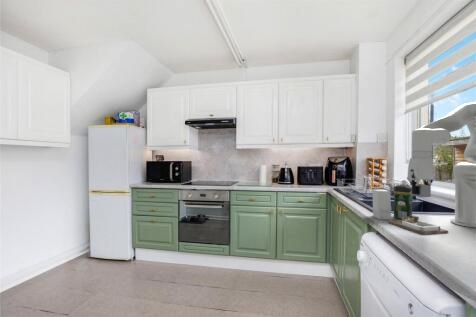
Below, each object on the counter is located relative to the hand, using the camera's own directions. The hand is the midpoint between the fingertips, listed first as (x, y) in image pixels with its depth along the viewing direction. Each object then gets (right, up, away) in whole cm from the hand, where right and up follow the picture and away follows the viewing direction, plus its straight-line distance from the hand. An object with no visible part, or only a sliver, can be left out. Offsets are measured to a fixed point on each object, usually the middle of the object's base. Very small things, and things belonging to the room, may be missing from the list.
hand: (420, 193), depth 107 cm
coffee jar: (+6, -17, +21) cm, 28 cm away
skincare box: (-6, -17, +21) cm, 27 cm away
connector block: (0, -1, 0) cm, 1 cm away
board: (0, -17, +3) cm, 17 cm away
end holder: (0, -17, 0) cm, 17 cm away
